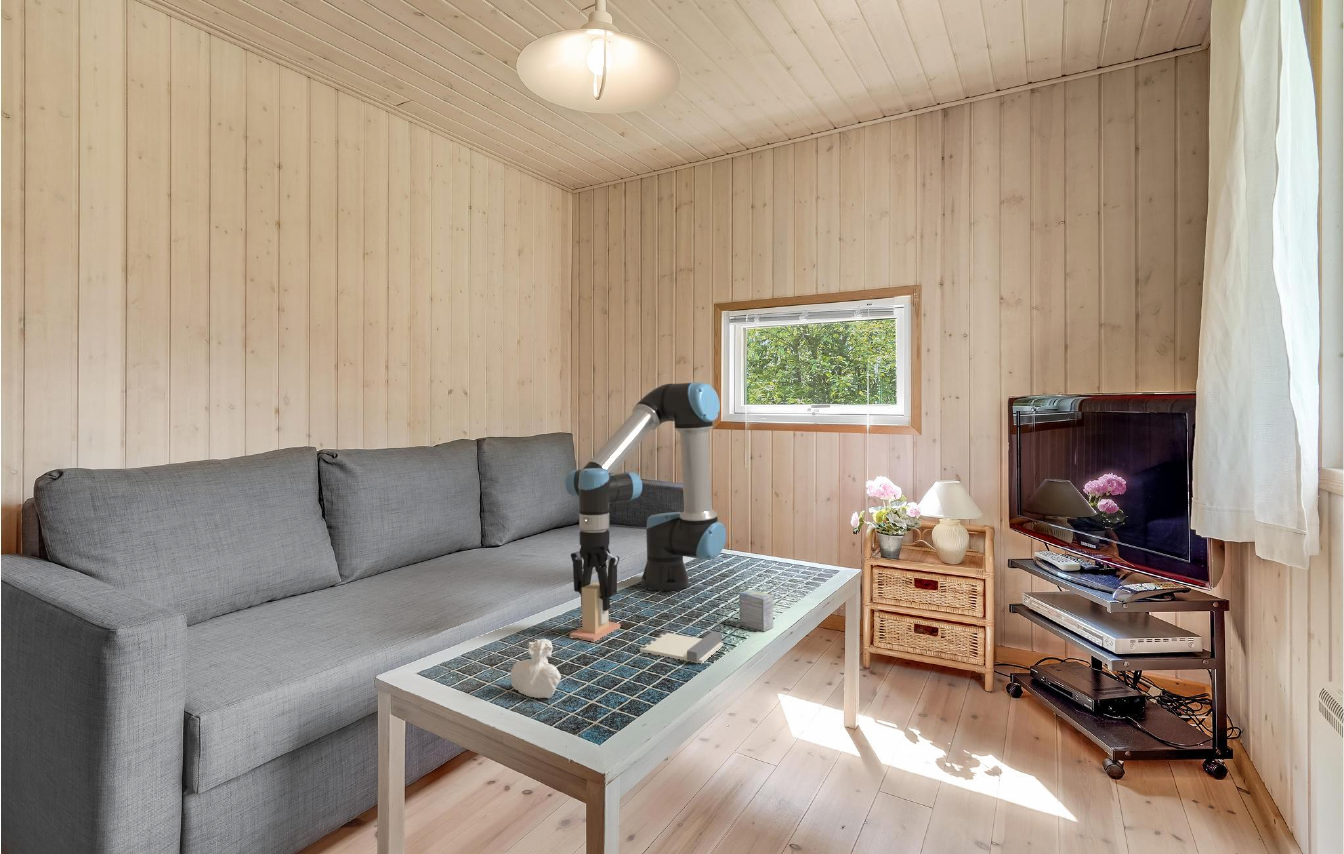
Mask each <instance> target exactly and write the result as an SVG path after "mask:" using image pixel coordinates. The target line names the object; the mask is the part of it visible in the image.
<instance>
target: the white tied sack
mask: <svg viewBox="0 0 1344 854" xmlns="http://www.w3.org/2000/svg"><path fill="white" fill-rule="evenodd" d="M536 640H537V641H535V640H534V641H535V642H533V641H532V642H531V641H528V643H527V644H529V645H528V646H527V647H528V649H527V654H528V655H529V656H530V658H531V659H528V658H527V659H523V660H519V661H517V662H516V663H514V664H513V665H512V667H511V668H512V669H510V670H511V671H510V674H511V675H510V678H509V679H510V684H511V687H512V688H513V689H514V690H515V691H517V690H518V692H519V694H520V693H523V694H524V695H523V696H525V695H526V697H530V698H533V697H538V699H543V698H545V699H549V698H551V697H553V696H554V693H555V692H556V688H557V686H558V685H559V684H560V682H561V679H562V675H561V674H560V671H559V670H558V668H557V667H556V666H555V665H554V664H552V663H549V661H548V656H549V657H552V653H553V645H552V641H551V640H550V639H546V638H542V639H536Z"/></svg>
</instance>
